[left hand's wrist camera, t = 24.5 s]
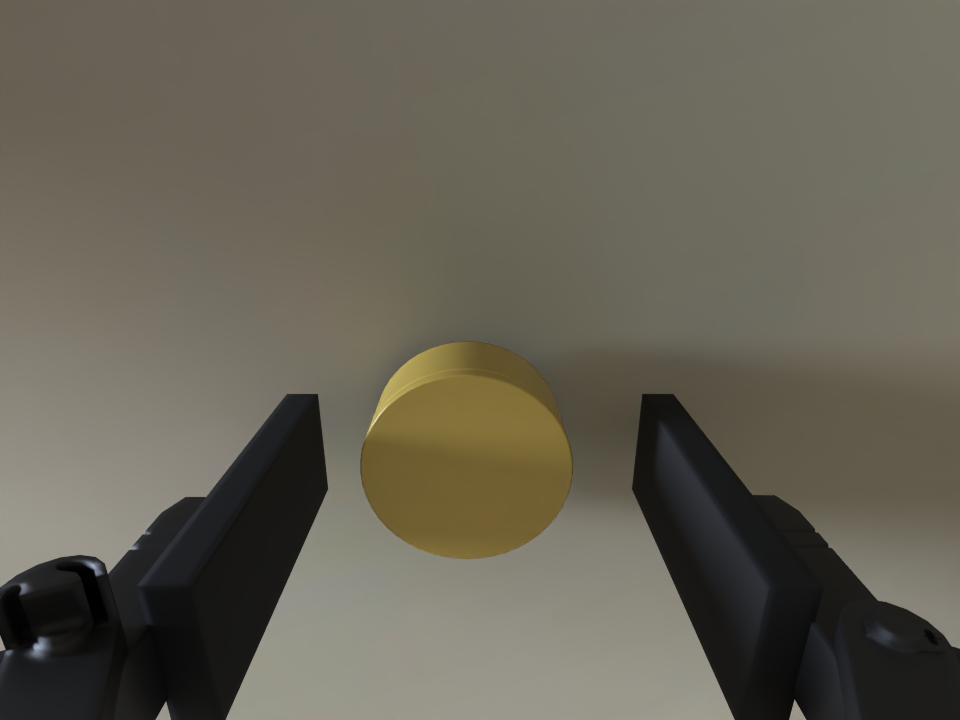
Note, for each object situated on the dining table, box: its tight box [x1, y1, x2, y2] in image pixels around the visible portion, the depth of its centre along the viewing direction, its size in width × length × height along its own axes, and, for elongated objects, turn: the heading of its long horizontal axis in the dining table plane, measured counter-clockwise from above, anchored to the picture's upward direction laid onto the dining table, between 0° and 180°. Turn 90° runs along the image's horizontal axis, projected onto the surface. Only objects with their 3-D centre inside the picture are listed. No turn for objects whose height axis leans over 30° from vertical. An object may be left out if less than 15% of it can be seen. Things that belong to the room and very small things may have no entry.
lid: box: [360, 342, 573, 559], centre depth 14 cm, size 5×5×2 cm
